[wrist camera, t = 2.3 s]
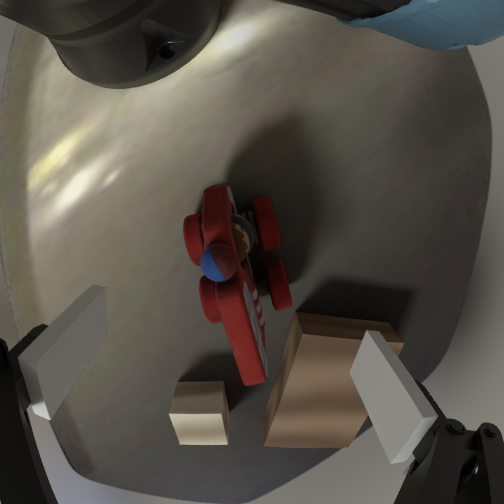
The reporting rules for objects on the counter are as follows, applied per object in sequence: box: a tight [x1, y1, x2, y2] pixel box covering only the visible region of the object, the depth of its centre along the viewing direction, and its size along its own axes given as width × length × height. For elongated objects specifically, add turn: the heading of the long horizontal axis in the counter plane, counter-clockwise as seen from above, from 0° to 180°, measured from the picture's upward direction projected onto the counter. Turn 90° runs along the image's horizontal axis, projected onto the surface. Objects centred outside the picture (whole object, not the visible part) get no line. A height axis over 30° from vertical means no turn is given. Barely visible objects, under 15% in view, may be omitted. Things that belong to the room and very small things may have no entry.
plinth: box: [262, 311, 404, 448], centre depth 29 cm, size 15×10×4 cm, turn 169°
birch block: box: [169, 381, 229, 445], centre depth 29 cm, size 5×5×5 cm
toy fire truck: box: [183, 183, 292, 386], centre depth 22 cm, size 7×12×10 cm, turn 12°
